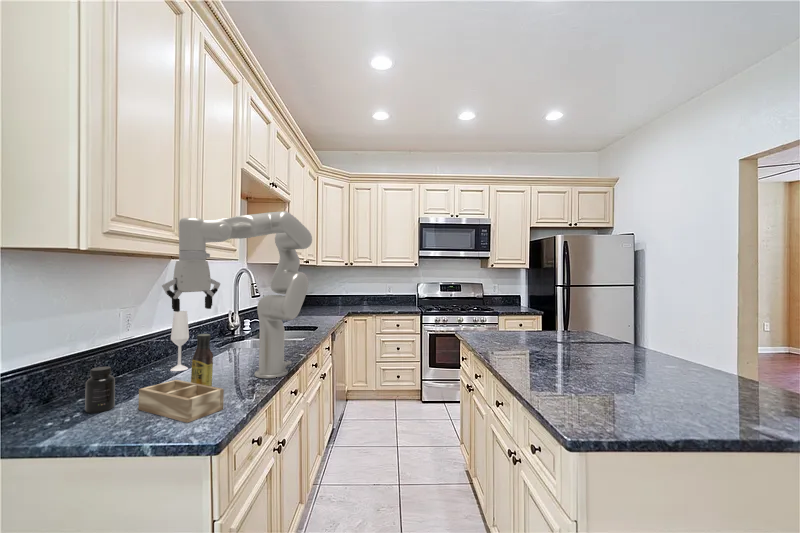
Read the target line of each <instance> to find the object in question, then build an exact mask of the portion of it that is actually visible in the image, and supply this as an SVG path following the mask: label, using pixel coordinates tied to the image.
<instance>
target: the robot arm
mask: <svg viewBox="0 0 800 533" xmlns="http://www.w3.org/2000/svg"><path fill="white" fill-rule="evenodd" d="M273 234H275V237H274V244H275V246H276V248H277V251H278V254H279V261H278V264H277V267H276V269H275V271H274V273H273V275H272V278H271V281H270V288H271V289H270V290H271V291H272V292H273V293H276V294H268V295H265V296H263V297H261V298H260V299H259V300H258V302H257V307H256V308H257V310H256V311H257V316H258V322H259V340H258V341H259V342H258V344H259V346H258V349H259V350H258V352H259V353H258V369H257V370H256V371H255V372H254V377H256V378H259V379H276V377H277V378H281V377H284V376H287V375H288V373H289V370H288V369H286V367H289V366H292V360H285V332H286V330H285V325H284V322H283V321H292V320H295V319H296V318H297V317H298V316H299V314H300V312H301V308H302V306H303V304H304V302H305V298H306V295H307V294H308V293H307V292H308V290H309V278H308V276H307V274H306V273H304V272H302V271H299V268H300V265H301V260H300V257H299V255H298V253H297V251H296V250H305V249H308V248H309V247H310V246H311V245H312V242H313V236H312V234H311V231H310V230H309V229H308V228H307V227H306V226H305V225H304V224H303V223H302V222H301V221H300V220H299V219H297V217H295V216H294V215H293V214H291V212H289V211H282V210H281V211H274V212H273V211H272V212H263V213H261V212H260V213H253V214H243V215H237V216H231V217H227V218H226V217H225V218H219V219H202V218H198V217H183V218H180V220H179V222H178V260H176V261H175V266H174V270H173V279H171V280H170V281H168V282H166V283H163V284H162V285H161V287H162V288H163V291H164V292H165V294H166V295H167V296H168V297H169V298H170V299H171V309H172V311H173V312H179V311H181V310H180V309H181V308H180V307H181V301H180V300H181V299H180V298H179V297H180V296H181V295H182V294H183V293H196V292H200V293H201V292H203V293H204V294H205V295H206V296H205V297H204V308H205V309H207V310H208V309H209V310H210V309H212V306H213V297H214V296H215V294H216V293H217V292H218V289H220V286H221V283H220V282H219V281H217V280H215V279H213V278H211V271H210V270H211V269H210V266H209V262H208V261H207V259H208V258H210V257H211V254H210V253H207V247H206V245H207V244H206V243H223V242H225V241H228V240H230V239H234V240H235V239H237V240H238V239H248V238H249V239H250V238H255V237H260V236H261V237H262V236H267V235H268V236H269V235H273ZM211 285H213V287H212V286H211ZM170 287H172V290H173V291H172V290H171V288H170ZM211 287H212V288H211Z"/></svg>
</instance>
